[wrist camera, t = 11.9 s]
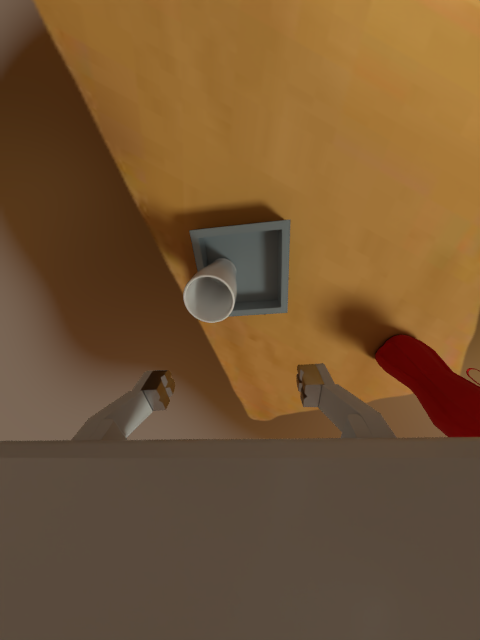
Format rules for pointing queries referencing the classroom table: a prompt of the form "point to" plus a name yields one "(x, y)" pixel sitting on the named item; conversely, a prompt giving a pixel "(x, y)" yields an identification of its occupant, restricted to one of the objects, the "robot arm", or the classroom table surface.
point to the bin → (250, 262)
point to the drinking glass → (212, 291)
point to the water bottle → (433, 385)
